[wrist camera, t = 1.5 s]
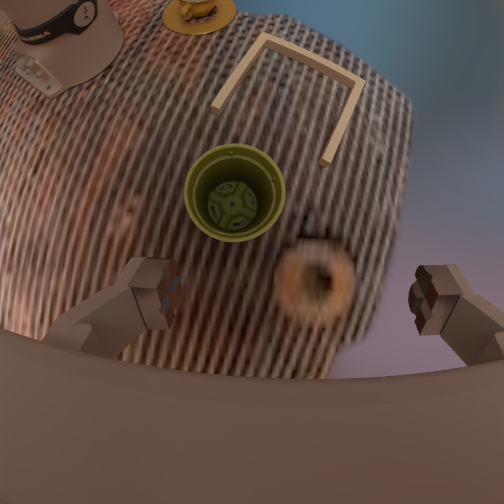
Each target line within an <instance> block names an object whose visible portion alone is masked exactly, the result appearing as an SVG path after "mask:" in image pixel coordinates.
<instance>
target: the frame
mask: <svg viewBox="0 0 504 504" xmlns="http://www.w3.org/2000/svg"><path fill="white" fill-rule="evenodd" d="M265 47H266V48H269V49H271V50H274V51H276V52H278V53H281V54H283V55H285V56H288V57H290V58H292V59H294V60H297V61H299V62H301V63H303V64H305V65H307V66H309V67H311V68H313V69H315V70H317V71H319V72H321V73H323V74H325V75H327V76H329V77H331V78H333V79H335V80H337V81H339V82H340V83H342V84H344V85H346V86H348V87H349V88H351V90H350V92H349V94H348V97H347V99H346V101H345V103H344V106H343V108H342V110H341V112H340V115H339V117H338V119H337V121H336V123H335V126H334V128H333V130H332V132H331V135H330V137H329V139H328V141H327V143H326V146H325V148H324V150H323V152H322V154H321V157H320V159H319V161H318V164H320V165H322V166H324V167H327V166H328V165H329V164H330V163H331V161H332V159H333V157H334V154H335V152H336V150H337V147H338V145H339V143H340V140H341V138H342V136H343V133H344V131H345V129H346V126H347V124H348V122H349V119H350V117H351V115H352V112H353V110H354V108H355V105H356V103H357V100H358V98H359V95H360V93H361V91H362V88H363V86H364V83H365V80H363V79H361V78H360V77H358V76H356V75H354V74H353V73H351V72H349V71H347V70H345V69H344V68H342V67H340V66H338V65H336V64H334V63H332V62H330V61H328V60H326V59H324V58H322V57H320V56H318V55H316V54H314V53H312V52H310V51H308V50H306V49H303V48H301V47H299V46H297V45H294V44H292V43H290V42H287V41H285V40H283V39H280V38H278V37H275V36H273V35H270V34H268V33H265V32H262V33H261V35H260V36H259V37H258V39H257V40H256V41H255V43H254V44H253V45H252V47H251V48H250V49H249V51H248V52H247V53H246V55H245V56H244V57H243V59H242V60H241V62H240V63H239V64H238V66H237V67H236V69H235V70H234V71H233V73H232V74H231V76H230V77H229V79H228V80H227V82H226V83H225V85H224V86H223V88H222V89H221V90H220V92H219V93H218V95H217V97H216V98H215V100H214V101H213V103H212V104H211V112H212V113H214V114H216V115H219V116H220V114H221V113H222V111H223V109H224V108H225V106H226V105H227V103H228V102H229V100H230V98H231V97H232V95H233V94H234V92H235V91H236V89H237V88H238V86H239V85H240V83H241V82H242V80H243V79H244V77H245V76H246V74H247V73H248V71H249V70H250V68H251V67H252V65H253V64H254V62H255V61H256V60H257V58H258V57H259V55H260V54H261V52H262V51H263V50H264V48H265Z"/></svg>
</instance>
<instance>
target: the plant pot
mask: <svg viewBox="0 0 504 504" xmlns="http://www.w3.org/2000/svg"><path fill="white" fill-rule="evenodd" d="M226 185H232V187H231V188H226V189H223V190H221V188H222V187H224V186H226ZM248 194H251V196H252V198H253V201H254V202H253V204H251V201H250V198H249V195H248ZM184 201H185V205H186V208H187V211H188V214H189V216H190V217H191V219H192V221H193V222H194V223H195V224H196V226H197V227H198V228H199V229H200V230H202V231H203V232H204V233H206V234H207V235H209V236H211V237H213V238H215V239H217V240H221V241H225V242H242V241H247V240H250V239H253V238H255V237H257V236H259V235H261V234H262V233H264V232H265V231H267V230H268V229H269V228H270V227H271V226H272V225H273V224H274V223H275V221H276V220H277V219H278V217H279V215H280V213H281V211H282V209H283V206H284V202H285V183H284V179H283V176H282V174H281V172H280V170H279V168H278V166H277V165H276V164H275V162H274V161H273V160H272V159H271V158H270V157H269V156H268V155H267V154H265V153H264V152H262V151H260V150H259V149H257V148H254V147H252V146H249V145H245V144H225V145H221V146H218V147H215V148H213V149H211V150H209V151H207V152H206V153H204V154H203V155H202V156H201V157H200V158H199V159H198V160H197V161H196V162H195V163H194V164H193V166H192V167H191V169H190V171H189V173H188V175H187V178H186V181H185V186H184ZM231 203H234V204H235V206H234V207H231ZM212 206H214V209H215V212H216V215H217V217H215V216H214V214H213V212H212ZM241 221H244V223H243V224H242V225H239V226H234V225H233V224H234V223H239V222H241Z"/></svg>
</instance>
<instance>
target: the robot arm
mask: <svg viewBox="0 0 504 504" xmlns="http://www.w3.org/2000/svg"><path fill="white" fill-rule="evenodd" d="M0 9H1V10H2V11H3V12H4V13H5V14H6V15H7V16H8V17H9V18H10V19H11V20H12V22H13V23H14V25H13V26H15V30H16V33H17V36H18V37H19V38H18V39H17V41H16V44H15V47H14V52H15V54H16V55H17V56H18V57H19V60H18V62H17V64H16V68H15V72H16V73H17V74H18V75H19V76H20V77H22V78H23V79H24V80H26V81H27V82H28V83H29V84H31V85H32V86H33V87H35V88H36V89H37V90H39V91H40V92H41V93H42V94H44V95H45V96H46V97H48V98H49V99H52V98H55V97H56V96H58V95H59V94H61V93H62V92H63V91H65V90H66V89H68V88H70V87H73V86H76V85H79V84H81V83H84V82H86V81H88V80H89V79H91V78H93V77H94V76H96V75H97V74H99V73H100V72H101V71H103V70H104V69H105V68H106V67H107V66H108V65H109V64H110V63H111V62H112V61H113V60H114V58H115V57H116V56H117V54H118V53H119V51H120V49H121V47H122V45H123V41H124V33H123V30H122V28H121V27H120V24H119V22H120V14H119V13H118V11H112V9H111V7H110V6H109V4H108V2H107V1H106V0H0ZM12 22H11V23H12ZM49 88H50V89H49ZM177 270H178V268H177V264H176V261H175V260H174V259H171V258H154V257H132V258H131V259H130V260H129V262H128V263H127V265H126V266H125V268H124V269H123V271H122V273H121V274H120V276H119V277H118V279H117V280H116V282H115V283H114V285H113V286H111V285H109V286H107V287H106V288H104V289H102V290H101V291H99V292H97V293H96V294H94V295H92V296H91V297H89V298H87V299H86V300H84V301H82V302H81V303H79V304H78V305H76V306H74V307H73V308H71V309H69V310H68V311H66V312H65V313H63V314H61V315H60V316H58V317H57V318H56V320H55V321H54V323H53V324H52V326H51V327H50V329H49V330H48V332H47V333H46V335H45V337H44V338H43V340H42V341H39V340H36V339H32V338H29V337H26V336H23V335H20V334H17V333H14V332H11V331H8V330H5V329H2V328H0V504H504V313H503V312H502V311H501V310H499V309H498V308H497V307H495V306H494V305H492V304H491V303H490V302H488V301H487V300H486V299H484V298H483V297H481V296H480V295H479V294H475V293H474V291H473V290H472V288H471V286H470V285H469V283H468V281H467V280H466V278H465V277H464V275H463V274H462V272H461V270H460V269H459V267H458V266H456V265H419V267H418V268H417V270H416V273H415V277H416V279H417V281H415V282H414V283H413V284H412V285H411V288H410V290H409V298H408V302H409V307H410V310H411V312H412V313H413V314H415V315H416V319H415V324H416V327H417V329H418V332H419V335H420V336H421V335H440V336H441V337H442V339H443V340H444V341H445V342H446V343H447V344H448V345H449V346H450V347H451V348H452V349H453V350H454V351H455V353H456V354H457V355H458V356H459V357H460V358H461V359H462V360H463V361H464V362H465V364H466V365H467V367H461V368H455V369H448V370H441V371H434V372H427V373H418V374H409V375H397V376H385V377H370V378H349V379H279V378H257V377H241V376H228V375H217V374H207V373H198V372H190V371H182V370H174V369H167V368H161V367H154V366H148V365H142V364H137V363H131V362H126V361H121V360H116V359H114V358H115V357H116V356H117V355H118V354H119V353H121V352H122V351H123V350H124V349H125V348H126V347H127V346H128V345H129V344H131V343H132V342H133V341H134V340H135V339H136V338H137V337H138V336H140V335H141V334H142V333H143V332H144V331H145V330H146V328H150V329H161V330H170V327H171V324H172V322H173V319H174V317H175V314H174V311H173V310H174V309H175V308H177V307H178V306H179V303H180V301H181V294H182V287H181V281H180V279H179V278H178V277H177V276H176V275H175V274H176V272H177Z"/></svg>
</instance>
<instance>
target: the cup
mask: <svg viewBox="0 0 504 504" xmlns="http://www.w3.org/2000/svg"><path fill="white" fill-rule="evenodd" d="M215 6H216V7H217V9H218V13H217V15H216V16H215V17H214V18H212V19H211V20H209V21H206V22H202V23H190V22H187V21H185V20H189V19H190V18H191V17H192V16H193V17H202V16H205V15H207V14H209V13H210V12H211V10H212V9H213V8H214V7H215ZM235 15H236V6H235V4H234V2H233V1H232V0H173V1H172V2H171V3H169V4H168V5H167V7H166V8H165V9H164V11H163V15H162V20H163V23H164V24H165V26H166V27H168V28H169V29H170V30H172V31H174V32H177V33H181V34H189V35H196V34H205V33H209V32H213V31H216V30H218V29H221V28H223V27H224V26H226V25H227V24H229V23H230V22H231V21H232V20H233V18H234V17H235Z"/></svg>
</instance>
